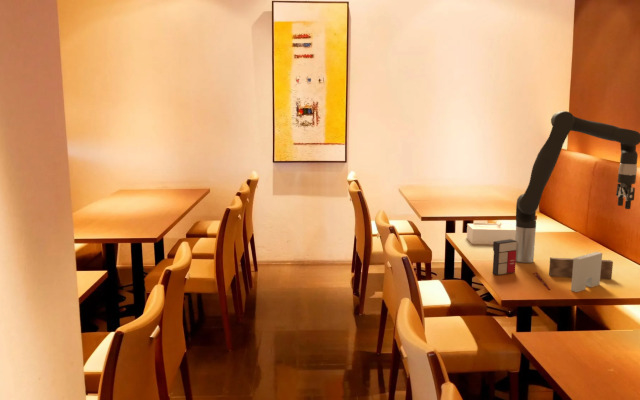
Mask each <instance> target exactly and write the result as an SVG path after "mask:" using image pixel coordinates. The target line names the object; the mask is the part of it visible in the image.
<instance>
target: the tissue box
mask: <svg viewBox="0 0 640 400" xmlns="http://www.w3.org/2000/svg"><path fill="white" fill-rule="evenodd" d="M466 226H467V227H466V239H467V240H468V242H470V244H471V245H493V242H494V241H501V240H509V239H512V240H515V233H516V226H515V225H513V224H509V223H508V224H506V223H505V224H504V223H503V224H502V223H501V222H500V221H496V222H495V223H492V222H491V223H489V222H488V223H487V222H486V223H485V222H473V223H467V224H466Z"/></svg>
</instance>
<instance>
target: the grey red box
mask: <svg viewBox="0 0 640 400" xmlns="http://www.w3.org/2000/svg"><path fill="white" fill-rule="evenodd" d="M492 245H493V246H492V251H493V258H492V259H493V261H492V274H493V275H496V276H501V275H502V276H503V275H508V274H513V273H515V272H516V265H517V263H516V246H517V241H515V240H512V239H509V240H501V241H494V242H493V244H492Z"/></svg>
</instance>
